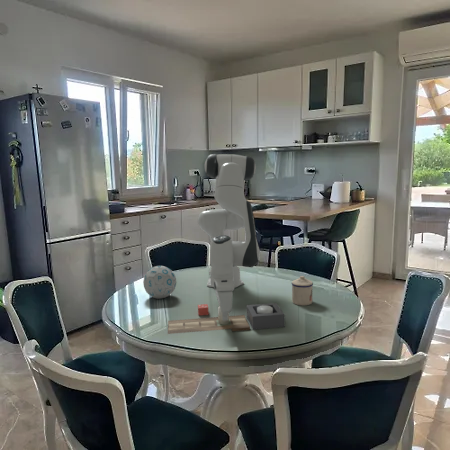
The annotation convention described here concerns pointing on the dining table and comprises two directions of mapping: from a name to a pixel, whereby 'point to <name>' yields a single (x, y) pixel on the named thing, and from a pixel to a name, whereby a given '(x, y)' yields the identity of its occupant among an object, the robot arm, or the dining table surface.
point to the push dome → (264, 309)
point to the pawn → (220, 319)
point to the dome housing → (265, 317)
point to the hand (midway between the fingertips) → (223, 314)
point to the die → (203, 309)
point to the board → (207, 324)
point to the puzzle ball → (159, 282)
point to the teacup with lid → (302, 291)
